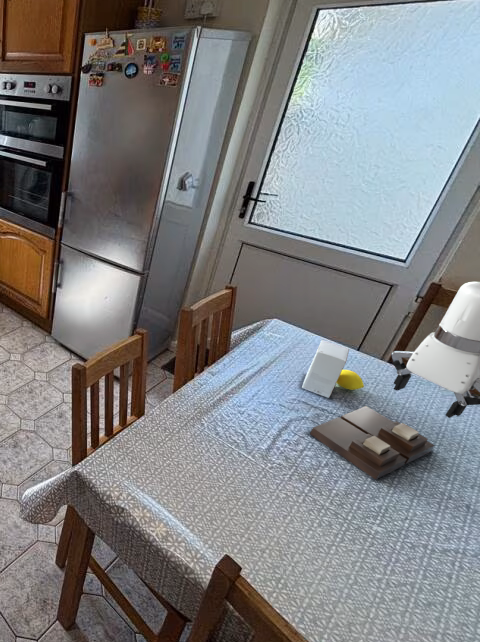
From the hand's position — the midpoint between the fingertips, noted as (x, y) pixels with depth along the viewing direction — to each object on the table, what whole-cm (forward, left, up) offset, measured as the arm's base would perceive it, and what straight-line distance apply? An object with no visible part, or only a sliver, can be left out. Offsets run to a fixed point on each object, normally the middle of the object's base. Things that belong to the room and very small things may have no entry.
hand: (423, 401), depth 94 cm
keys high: (+3, +11, -14) cm, 18 cm away
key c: (0, 0, -11) cm, 11 cm away
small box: (+21, -4, -14) cm, 26 cm away
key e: (0, +11, -11) cm, 15 cm away
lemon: (+18, -12, -14) cm, 26 cm away
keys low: (+3, 0, -14) cm, 14 cm away
